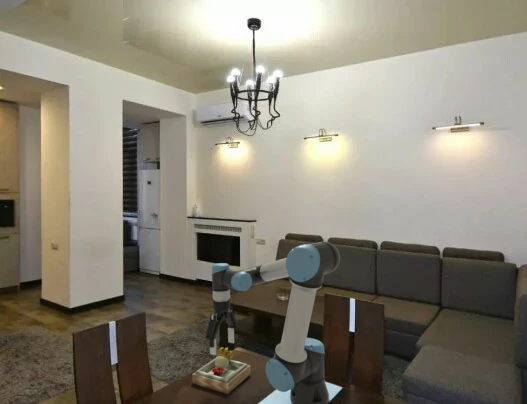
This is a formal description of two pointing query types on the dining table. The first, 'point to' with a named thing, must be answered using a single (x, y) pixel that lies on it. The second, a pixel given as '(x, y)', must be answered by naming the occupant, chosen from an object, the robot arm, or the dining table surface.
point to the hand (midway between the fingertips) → (222, 348)
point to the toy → (222, 361)
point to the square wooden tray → (222, 376)
